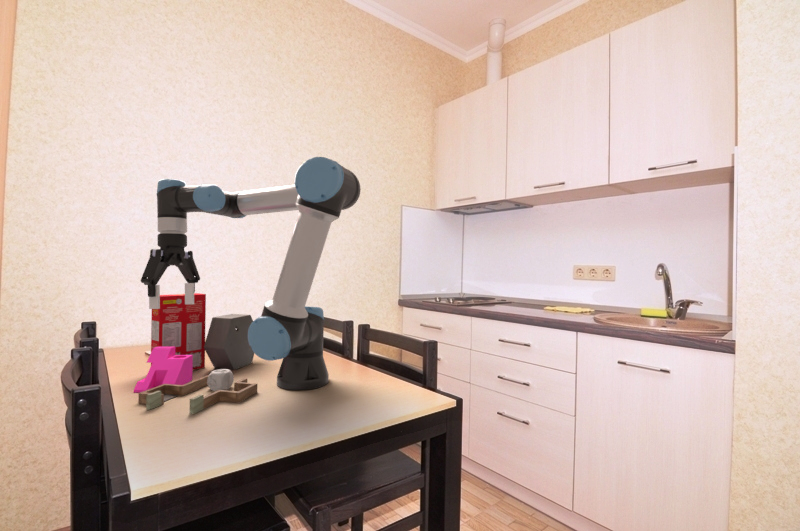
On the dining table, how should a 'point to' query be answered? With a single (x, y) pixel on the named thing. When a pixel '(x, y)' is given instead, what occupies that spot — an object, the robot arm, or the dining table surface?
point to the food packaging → (181, 326)
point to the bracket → (166, 369)
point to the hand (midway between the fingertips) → (173, 306)
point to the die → (220, 379)
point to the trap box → (198, 403)
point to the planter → (229, 341)
